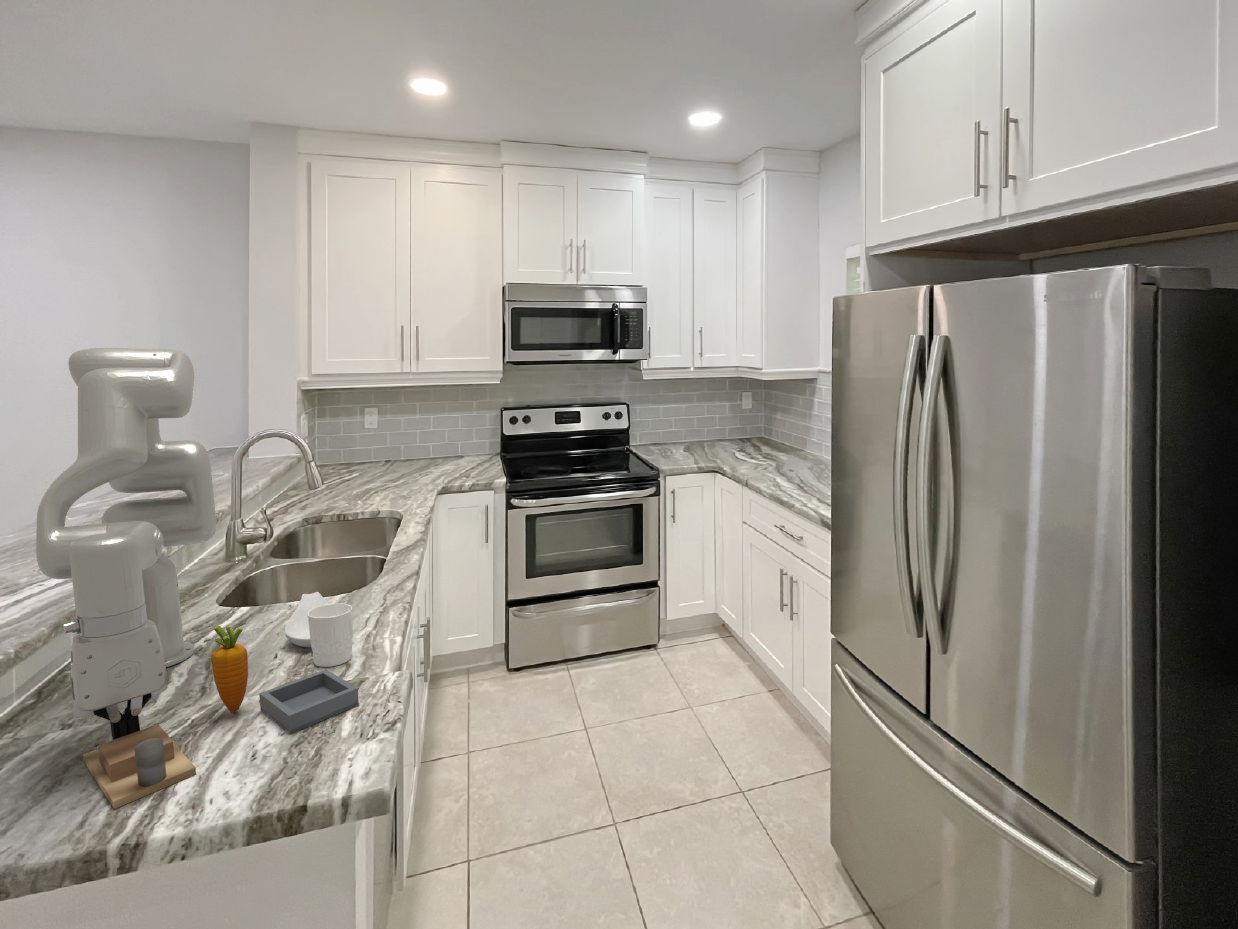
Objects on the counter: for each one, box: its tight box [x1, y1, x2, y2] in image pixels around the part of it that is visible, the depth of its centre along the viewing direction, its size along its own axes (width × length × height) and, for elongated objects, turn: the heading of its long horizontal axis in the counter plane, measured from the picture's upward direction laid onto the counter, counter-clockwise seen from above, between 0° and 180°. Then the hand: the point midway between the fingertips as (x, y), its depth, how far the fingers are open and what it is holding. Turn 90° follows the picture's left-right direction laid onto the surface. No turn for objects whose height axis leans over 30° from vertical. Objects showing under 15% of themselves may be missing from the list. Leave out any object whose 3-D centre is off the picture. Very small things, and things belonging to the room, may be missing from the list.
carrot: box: [210, 625, 249, 714], centre depth 99 cm, size 5×5×15 cm
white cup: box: [307, 602, 354, 668], centre depth 119 cm, size 8×8×10 cm
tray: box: [258, 668, 360, 735], centre depth 102 cm, size 11×11×3 cm
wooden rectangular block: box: [97, 723, 175, 782], centre depth 86 cm, size 7×7×2 cm
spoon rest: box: [284, 591, 331, 648], centre depth 133 cm, size 24×12×7 cm, turn 32°
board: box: [82, 738, 197, 810], centre depth 86 cm, size 16×9×6 cm, turn 51°
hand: (126, 741), depth 89 cm, fingers closed
